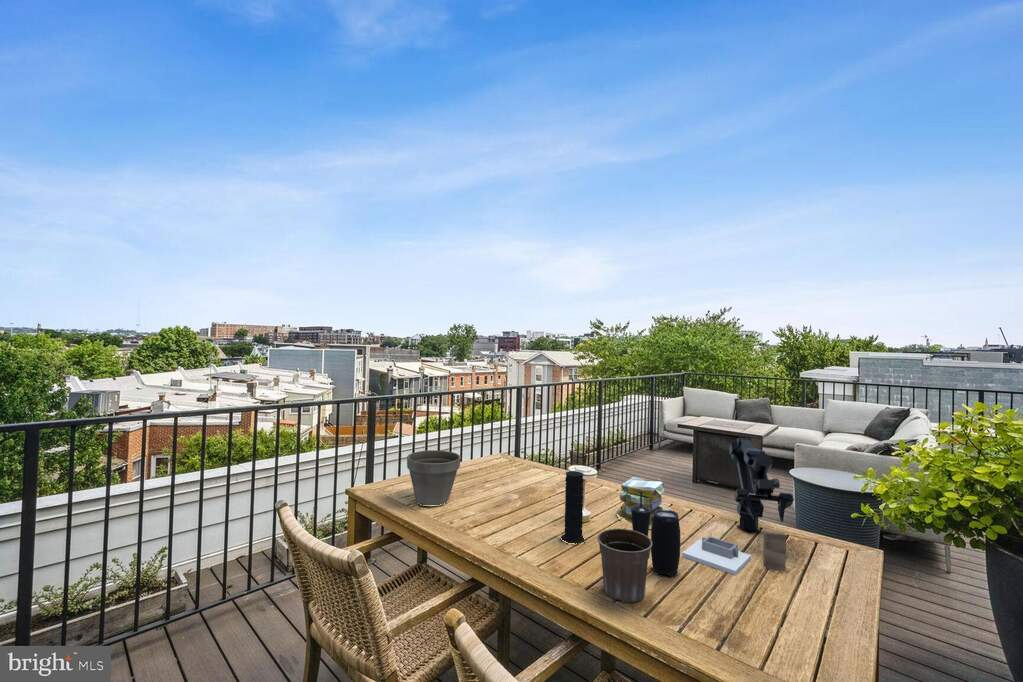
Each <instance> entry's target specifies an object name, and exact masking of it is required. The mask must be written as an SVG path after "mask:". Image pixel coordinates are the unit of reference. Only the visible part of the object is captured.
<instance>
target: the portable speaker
mask: <svg viewBox="0 0 1023 682" xmlns="http://www.w3.org/2000/svg"><path fill="white" fill-rule="evenodd" d="M672 510H673V509H672ZM672 510H669V511H667V510H659V509H656V510H655V511H654V517H653V522H652V527H651V529H650V539H651V541H652V547H651V549H650V558H651V564H652V571H653V572H654V573H655V574H656V573H657V575H658V576H659V575H661V574H662V575H669V577H670V578H674V577H676V576H677V575H678V570H679V565H680V557H681V526H680V519H679V514H678V512H677V511H674V510H673V511H672Z"/></svg>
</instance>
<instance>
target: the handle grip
mask: <svg viewBox="0 0 1023 682" xmlns="http://www.w3.org/2000/svg"><path fill="white" fill-rule="evenodd" d="M583 483H584V472H581V471H578V470H569V471H566V472H565V483H564V484H565V486H564V487H565V491H564V493H565V495H564V498H565V499H564V502H565V503H564V506H565V508H564V533H563V534H562V535H561V536H560V537H561V538H562V540H564V541H566V542H568V543H575V544H576V543H577V544H578V543H581V542H584V541H585V540H584V538H583V536H584V535H583V522H584V521H583V519H584V517H583V516H584V513H583V511H584V510H583V508H584V505H583V504H584V484H583Z"/></svg>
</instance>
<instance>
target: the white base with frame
mask: <svg viewBox="0 0 1023 682" xmlns="http://www.w3.org/2000/svg"><path fill="white" fill-rule="evenodd" d="M738 546H739V545H738V544H737V543H734V542H730V541H726V540H724V539H720V538H717V537H714V536H711V535H708V536H707V537H701V539H698V540H696V542H694V543H693V544H692V545H690V546H689V547H688V548H686V549H684V551H682V552H681V557H682V558H685V559H688V560H690V561H693V562H697V563H699V564H702V565H704V566H708V567H710V568H713V569H716V570H719V571H722V572H725V573H728V574H731V575H733V576H736V575H738V574H739V573H740V571H742V570H743V569H744V567H746V565H748V563H749V562H751V560H752V555H751V554H748V553H746V552H742V551H739V547H738Z"/></svg>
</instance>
